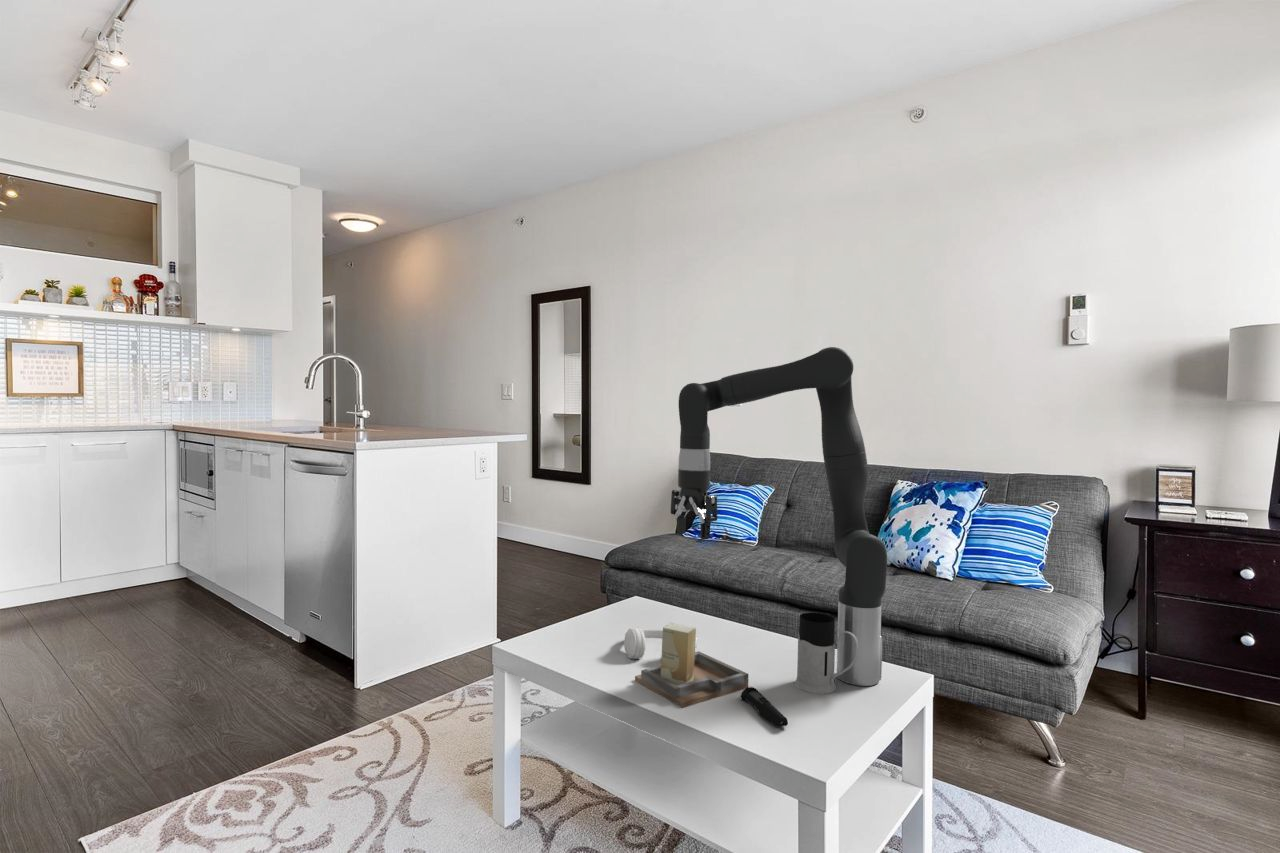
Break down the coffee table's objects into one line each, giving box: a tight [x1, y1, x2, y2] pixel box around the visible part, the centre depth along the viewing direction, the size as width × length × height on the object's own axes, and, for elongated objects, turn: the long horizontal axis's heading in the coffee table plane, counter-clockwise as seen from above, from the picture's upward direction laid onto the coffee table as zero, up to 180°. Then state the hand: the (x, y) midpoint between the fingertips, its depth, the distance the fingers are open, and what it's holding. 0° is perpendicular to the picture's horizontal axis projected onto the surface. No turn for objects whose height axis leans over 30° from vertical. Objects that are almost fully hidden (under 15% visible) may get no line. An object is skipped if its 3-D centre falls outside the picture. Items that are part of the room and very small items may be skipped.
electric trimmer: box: [740, 686, 789, 728], centre depth 132 cm, size 4×16×3 cm, turn 17°
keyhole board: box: [634, 651, 749, 708], centre depth 146 cm, size 18×16×3 cm
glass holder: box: [794, 612, 858, 695], centre depth 145 cm, size 9×14×15 cm, turn 42°
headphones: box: [623, 627, 698, 660], centre depth 167 cm, size 7×18×20 cm
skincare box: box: [660, 622, 697, 686], centre depth 143 cm, size 6×4×12 cm
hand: (692, 536), depth 158 cm, fingers open, 8 cm apart
